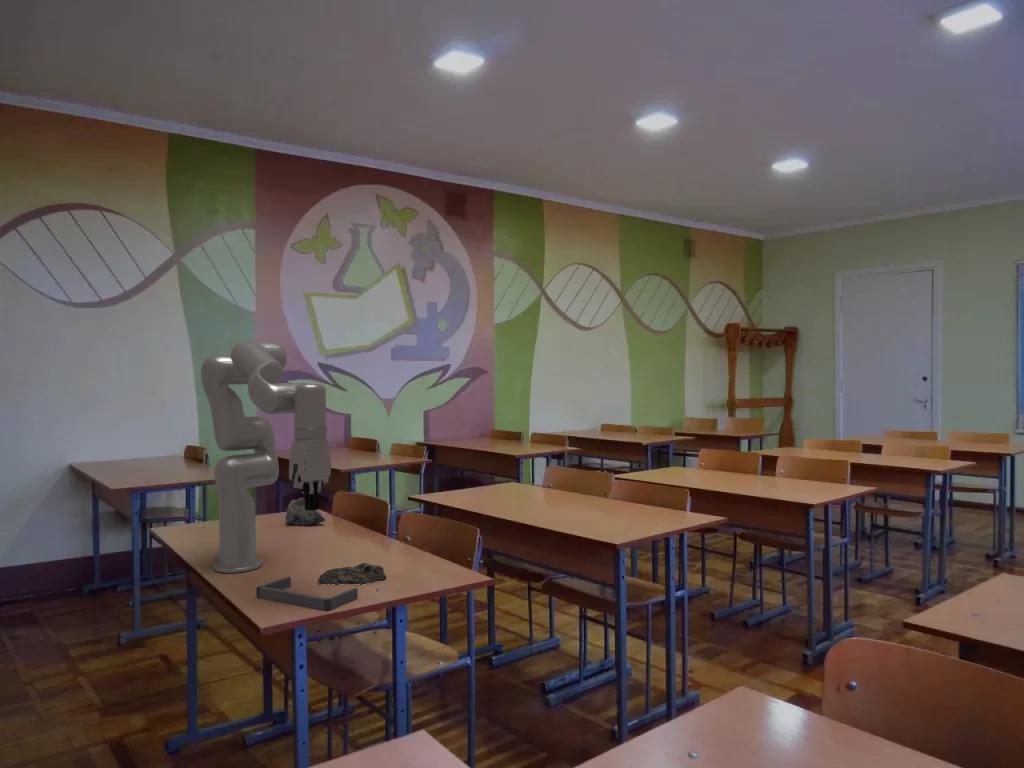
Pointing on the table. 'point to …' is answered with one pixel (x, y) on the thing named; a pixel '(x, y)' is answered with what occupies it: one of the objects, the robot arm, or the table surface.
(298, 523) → the mineral rock
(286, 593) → the frame
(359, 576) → the grey rough rock slab
